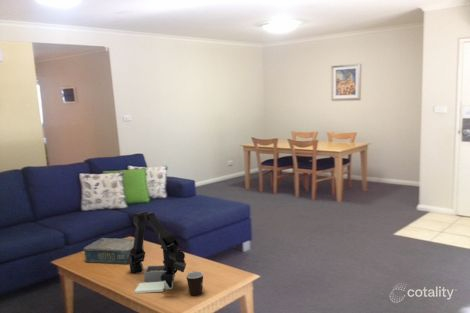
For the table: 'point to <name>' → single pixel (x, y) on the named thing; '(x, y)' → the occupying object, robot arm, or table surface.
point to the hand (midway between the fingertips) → (171, 286)
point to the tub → (153, 274)
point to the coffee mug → (195, 283)
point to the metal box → (109, 250)
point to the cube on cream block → (152, 287)
